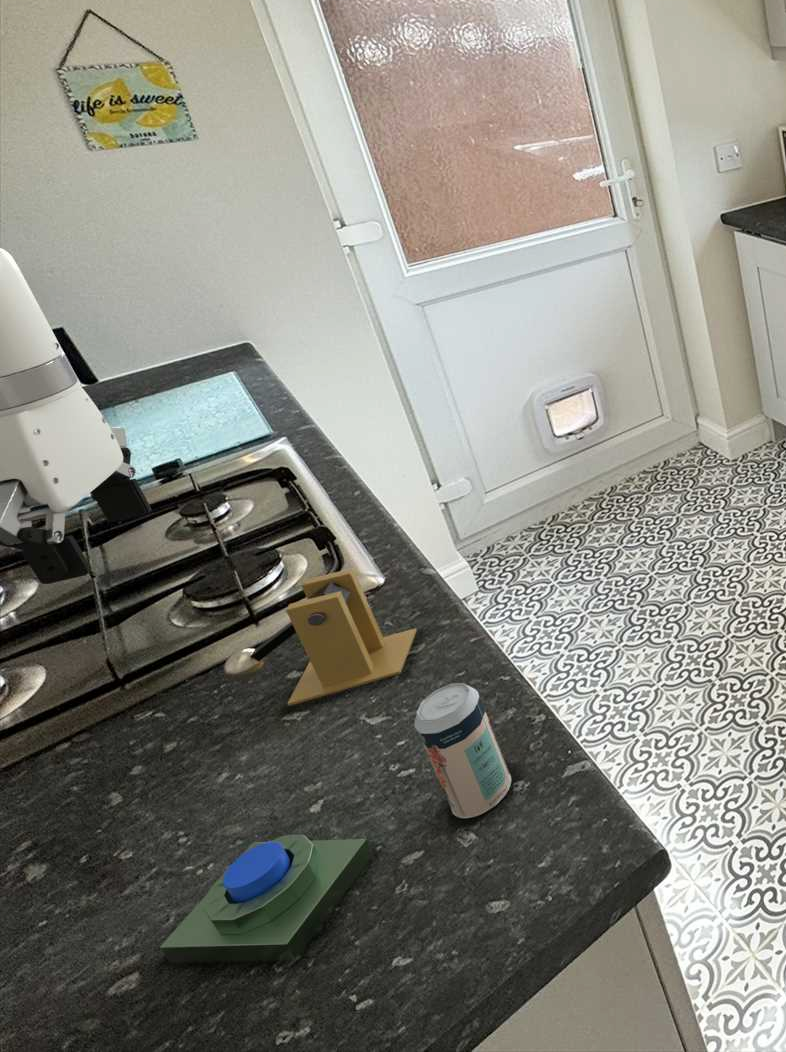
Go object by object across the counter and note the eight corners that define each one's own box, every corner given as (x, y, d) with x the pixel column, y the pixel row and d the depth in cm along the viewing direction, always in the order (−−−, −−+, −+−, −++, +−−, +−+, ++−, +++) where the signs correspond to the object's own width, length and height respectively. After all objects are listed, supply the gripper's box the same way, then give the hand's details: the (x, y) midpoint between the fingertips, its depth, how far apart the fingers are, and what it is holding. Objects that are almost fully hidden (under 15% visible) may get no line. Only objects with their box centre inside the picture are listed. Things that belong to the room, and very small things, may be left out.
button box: (171, 965, 60) (148, 932, 59) (262, 859, 68) (244, 827, 66) (297, 961, 60) (277, 929, 59) (375, 855, 68) (359, 824, 66)
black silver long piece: (239, 693, 81) (208, 679, 80) (252, 671, 84) (223, 656, 83) (346, 610, 83) (318, 594, 81) (356, 591, 86) (329, 575, 84)
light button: (218, 903, 61) (209, 888, 60) (259, 856, 64) (251, 841, 64) (263, 902, 61) (254, 887, 60) (302, 854, 64) (294, 840, 64)
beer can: (462, 782, 74) (422, 687, 69) (518, 766, 75) (482, 672, 71) (445, 829, 69) (401, 732, 65) (505, 812, 71) (466, 715, 66)
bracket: (291, 712, 82) (246, 625, 78) (315, 664, 88) (276, 581, 84) (403, 679, 86) (366, 594, 81) (419, 635, 92) (386, 554, 88)
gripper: (21, 357, 74) (104, 507, 80) (-139, 443, 59) (-21, 619, 65) (124, 342, 77) (197, 488, 83) (-4, 420, 62) (97, 592, 68)
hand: (101, 545), depth 74 cm, fingers open, 9 cm apart
